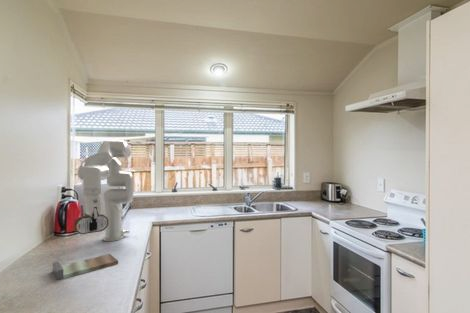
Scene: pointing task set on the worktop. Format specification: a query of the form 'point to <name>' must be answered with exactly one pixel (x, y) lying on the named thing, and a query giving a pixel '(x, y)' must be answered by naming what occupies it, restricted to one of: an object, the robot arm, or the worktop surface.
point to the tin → (83, 224)
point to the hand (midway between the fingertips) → (92, 229)
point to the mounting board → (88, 265)
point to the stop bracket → (58, 270)
